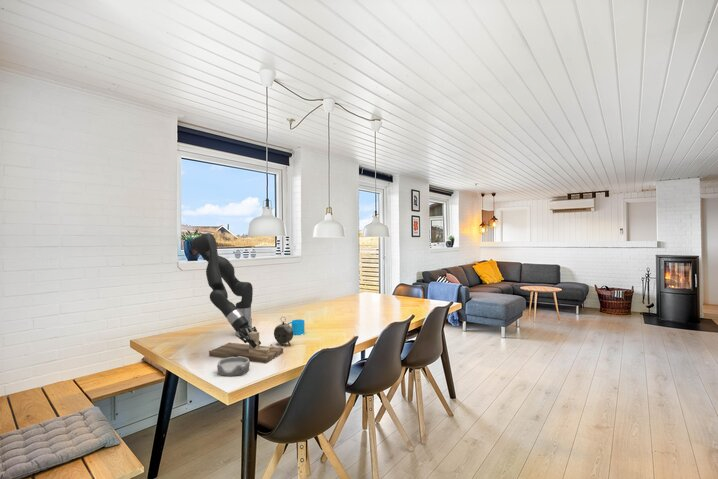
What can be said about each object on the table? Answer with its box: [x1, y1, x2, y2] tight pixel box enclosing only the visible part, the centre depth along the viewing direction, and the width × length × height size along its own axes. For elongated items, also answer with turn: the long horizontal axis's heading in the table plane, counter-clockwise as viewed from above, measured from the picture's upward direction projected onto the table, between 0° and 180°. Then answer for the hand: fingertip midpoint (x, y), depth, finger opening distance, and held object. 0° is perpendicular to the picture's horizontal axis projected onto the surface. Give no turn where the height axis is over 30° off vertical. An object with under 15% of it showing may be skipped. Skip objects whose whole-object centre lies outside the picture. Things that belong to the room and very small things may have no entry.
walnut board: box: [208, 342, 284, 364], centre depth 182 cm, size 16×34×2 cm, turn 73°
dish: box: [217, 356, 251, 377], centre depth 159 cm, size 14×14×5 cm
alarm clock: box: [273, 316, 294, 347], centre depth 198 cm, size 11×5×16 cm, turn 65°
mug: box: [287, 319, 306, 336], centre depth 222 cm, size 12×8×8 cm
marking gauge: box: [248, 331, 274, 354], centre depth 181 cm, size 10×10×10 cm
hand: (257, 345), depth 178 cm, fingers closed on marking gauge, 3 cm apart
